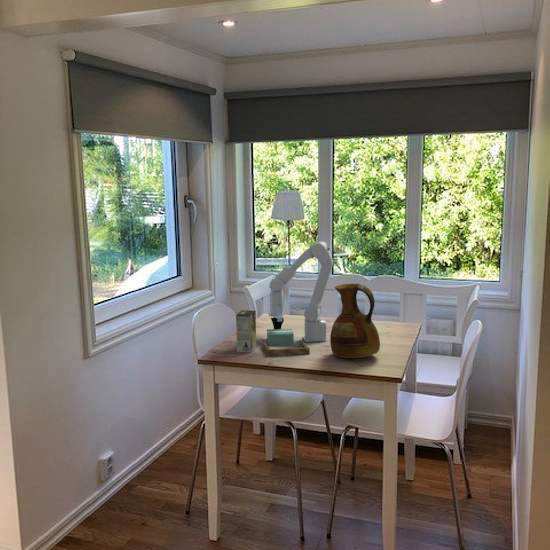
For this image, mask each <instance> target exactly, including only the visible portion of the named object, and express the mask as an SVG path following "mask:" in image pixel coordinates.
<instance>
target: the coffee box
mask: <svg viewBox="0 0 550 550" xmlns="http://www.w3.org/2000/svg"><path fill="white" fill-rule="evenodd" d="M256 319H257V313H256V310H247V309H246V310H240V311H239V312H238V313H237V314H236V315H235V321H236V326H235V327H236V352H237V353H250V354H251V353H252V352H253V351H254V350H255V349H256V348H257V327H256V326H257V320H256Z"/></svg>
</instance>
